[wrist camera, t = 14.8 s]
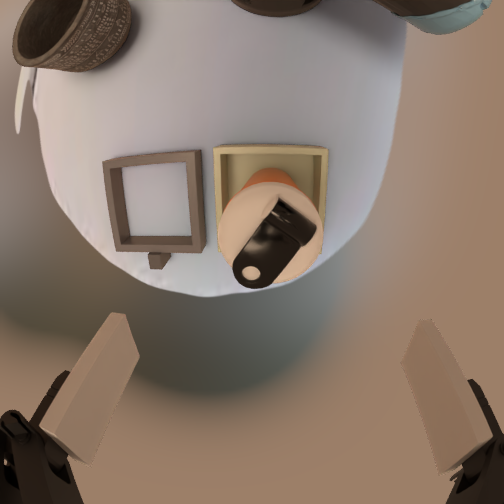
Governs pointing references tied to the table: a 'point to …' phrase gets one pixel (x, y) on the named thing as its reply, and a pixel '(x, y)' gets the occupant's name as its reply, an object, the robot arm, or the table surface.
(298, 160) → the sage holder
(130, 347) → the robot arm
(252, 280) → the shaker bottle
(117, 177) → the collar
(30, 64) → the planter
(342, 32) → the table surface
